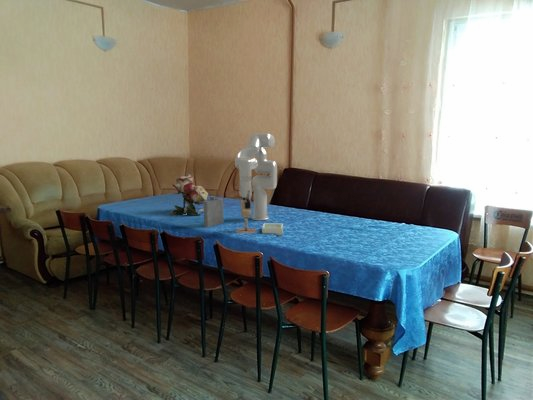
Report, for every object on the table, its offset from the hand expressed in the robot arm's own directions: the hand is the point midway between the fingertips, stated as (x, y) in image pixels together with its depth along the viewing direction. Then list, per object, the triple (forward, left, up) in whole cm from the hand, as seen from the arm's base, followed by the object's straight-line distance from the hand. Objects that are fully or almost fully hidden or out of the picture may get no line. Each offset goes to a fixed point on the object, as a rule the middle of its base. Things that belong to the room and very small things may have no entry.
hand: (246, 207), depth 274 cm
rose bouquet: (-59, -52, -17) cm, 80 cm away
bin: (0, +17, -16) cm, 24 cm away
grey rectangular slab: (-19, -25, -17) cm, 35 cm away
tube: (0, 0, -6) cm, 6 cm away
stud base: (0, 0, -16) cm, 16 cm away
